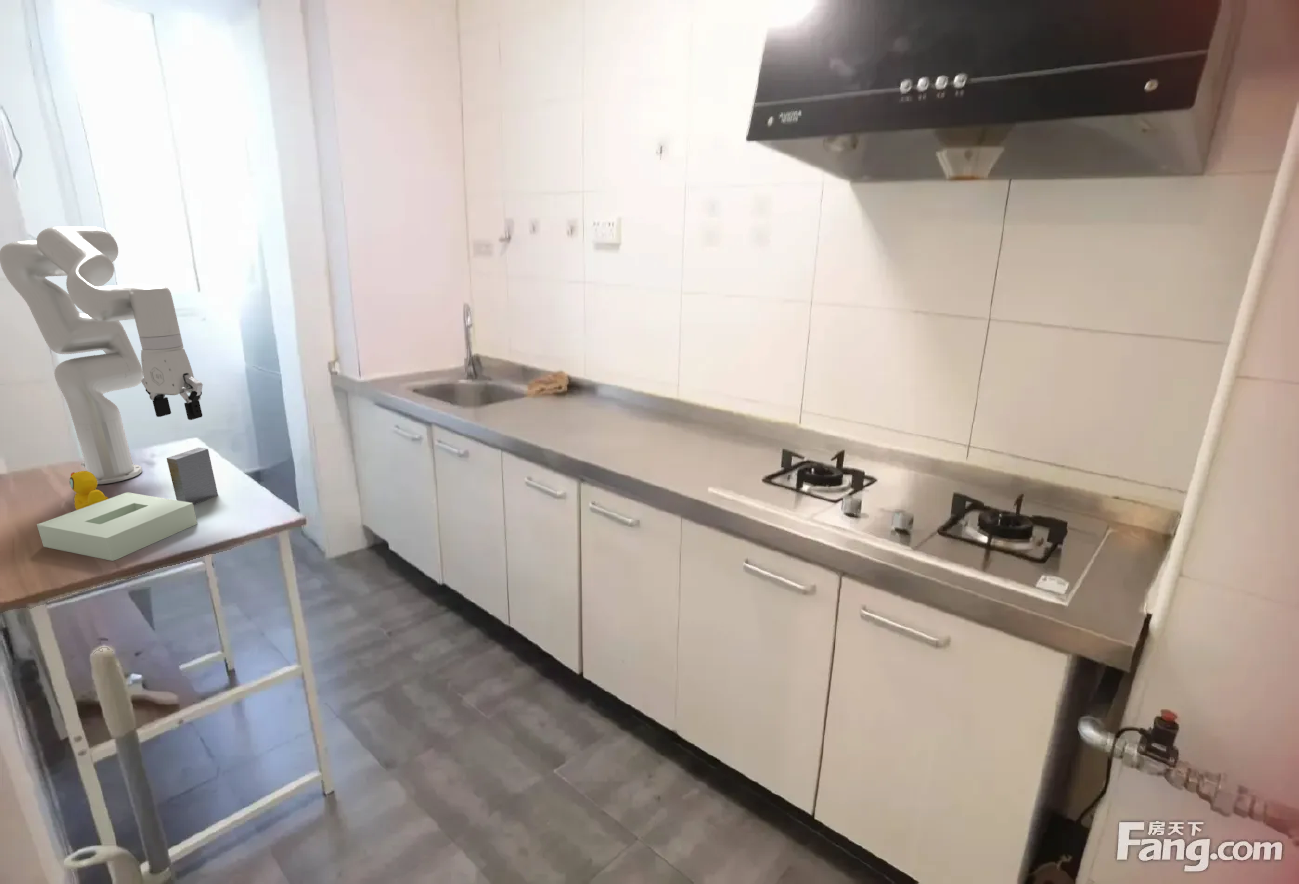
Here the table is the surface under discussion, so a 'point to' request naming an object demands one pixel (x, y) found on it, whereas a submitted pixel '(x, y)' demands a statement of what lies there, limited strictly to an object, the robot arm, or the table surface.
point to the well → (117, 525)
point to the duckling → (85, 489)
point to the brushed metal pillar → (192, 476)
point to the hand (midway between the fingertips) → (179, 416)
